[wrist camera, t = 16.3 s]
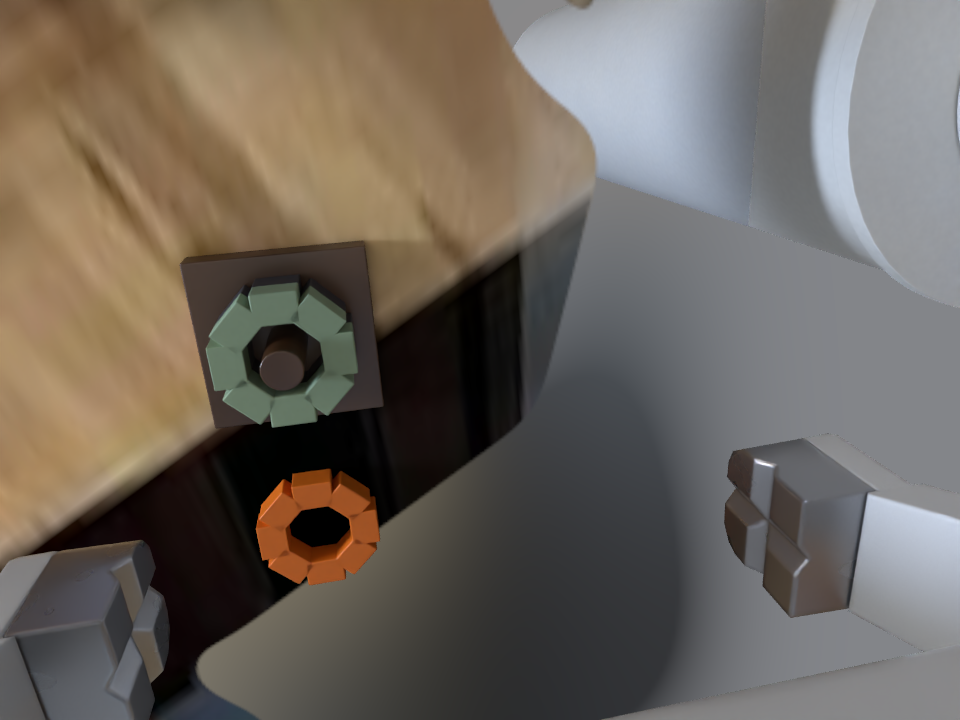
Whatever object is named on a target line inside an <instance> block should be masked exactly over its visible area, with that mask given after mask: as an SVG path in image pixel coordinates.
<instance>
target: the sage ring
mask: <svg viewBox="0 0 960 720" xmlns="http://www.w3.org/2000/svg"><path fill="white" fill-rule="evenodd" d="M293 323H294V324H295V325H297V326H298V327H300V328H301V329H302V330H304V331H305V332H307V333H308V334H309V335H311V336H312V337H314V338H315V339H317V340H318V341H319V342H320V345H321V352H322V358H323V363H322V364H321V366H320V367H319V368H318V369H317V370H316V372H315V373H314V374H313V375H312V376H311V378H310V379H309V380H308V381H307V382H304V383H299V384H298V385H297V386H296V387H294V388H292V389H290V390H284V391H280V390H275V389H273V388H271V387H269V386H268V385H266V384H265V383H264V381H263V380H262V378H261V376H260V375H259V374H258V373H256V372H255V371H253V370H252V369H251V364H250V359H249V353H248V348H247V345H248V343H249V342H250V341H251V340H252V338H253V337H254V336H255V335H256V333H257V332H258V331H259V330H260V329H261V327H266V326H275V325H284V324H293ZM209 338H211V339H210V341H209V343H208V345H207V347H206V353H207V358H208V362H209V367H210V371H211V376H212V381H213V385H214V390H215V391H221V390H226V392H225V395H224V397H223V401H224V402H225V403H227V404H228V405H230V406H231V407H233V408H235V409H236V410H238V411H239V412H241V413H243V414H244V415H246V416H247V417H249V418H250V419H252V420H254V421H255V422H257V423H258V424H262V423H263V421H264V420H265V419H266V418H267V417H268V415H269V414H270V418H271V423H272V427H280V426H287V425H295V424H302V423H310V422H316V421H317V416H318V410H319V411H321V412H322V413H324V414H325V415H329V414H330V413H331V411H332V410H333V409H334V408H335V407H336V406H337V404H338V403H339V402H340V401H341V400H342V398H343V397H344V396H345V395H346V394H347V393H348V391H349V390H350V389H351V388H352V387H353V385H354V374H355V373H358V363H357V355H356V347H355V340H354V332H353V325H352V322H348V323H346V312H345V311H344V310H343V309H341V308H340V307H339V306H337V305H336V304H335V303H333V302H332V301H330V300H329V299H328V298H326V297H325V296H324V295H322V294H321V293H320V292H318V291H317V290H316V289H314V288H313V287H312V286H309V287H308V288H307V289H306V291H305V292H304V293H303V294H302V296H301V297H300V291H299V285H298V283H286V284H276V285H267V286H257V287H252V288H251V291H250V293H249V295H248V297H246V296H245V295H243V294H242V293H240V294H239V295H238V297H237V298H236V299H235V300H234V302H233V303H232V304H231V305H230V307H229V308H228V309H227V310H226V312H225V313H224V314H223V315H222V317H221V318H220V319H219V320H218V322H217V323H216V324H215V326H214V327H213V329H212V331H211V333H210V335H209Z"/></svg>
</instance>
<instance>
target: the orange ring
mask: <svg viewBox="0 0 960 720" xmlns="http://www.w3.org/2000/svg"><path fill="white" fill-rule="evenodd" d="M326 506H329V507H331V508H332V509H334V510H336V511H337V512H339V513H341V514H342V515H344V516H345V517H347V518H349V521H350V529H349V530H348V531H347V533H346V534H345V535H344V536H343V537H342V538H341V539H340V541H339V542H338V543H337V544H331V545H325V546H318V547H310V546H308V545H307V544H305V543H303V542H301V541H300V540H298V539H296V538H294V537H293V536H291V531H290V526H289V524H290V523H291V522H292V521H293V520H294V518H295V517H296V516H297V515H298V514H299V513H300V512H301V510H306V509H313V508H320V507H326ZM256 531H257V536H258V541H259V545H260V550H261V555H262V560H267V559H270V560H269V568H271V569H273V570H274V571H276V572H278V573H280V574H282V575H283V576H285V577H287V578H289V579H291V580H293V581H294V582H296V583H298V584H300V583H301V581H302V580H303V579H304V578H305V577H306V576H307V578H308V583H309V585H315V584H321V583H326V582H332V581H339V580H344V579H346V570H347V571H349V572H351V573H353V574H355V573H356V572H357V571H358V570H359V569H360V568H361V566H362V565H363V564H364V563H365V562H366V561H367V560H368V559H369V558H370V557H371V555H372V554H373V553H374V552H375V551H376V550H377V545H376V542H378V541H380V534H379V524H378V517H377V509H376V502H375V496H372V497H370V490H369V488H367V487H366V486H364V485H362V484H361V483H359V482H358V481H356V480H354V479H353V478H351V477H350V476H348V475H347V474H345V473H343V472H342V471H340V472H339V473H338V474H337V475H336V476H335V478H334V479H332V473H331V469H324V470H317V471H310V472H303V473H296V474H293V477H292V483H290V482H289V481H287V480H285V479H283V480H282V481H281V483H280V484H279V485H278V486H277V487H276V488H275V490H274V491H273V492H272V493H271V494H270V496H269V497H268V498H267V499H266V500H265V501H264V503H263V504H262V505H261V511H260V513H259V516H258V521H257V527H256Z"/></svg>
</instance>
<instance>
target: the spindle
mask: <svg viewBox="0 0 960 720" xmlns="http://www.w3.org/2000/svg"><path fill="white" fill-rule="evenodd" d="M180 269H181V274H182V278H183V283H184V287H185V292H186V297H187V301H188V306H189V310H190V315H191V319H192V324H193V329H194V333H195V338H196V342H197V347H198V351H199V356H200V361H201V365H202V370H203V374H204V379H205V383H206V388H207V393H208V397H209V402H210V406H211V411H212V415H213V420H214V424H215V428H224V427H231V426H239V425H247V424H254V423H257V422H255V421H254V420H252V419H250V418H249V417H247V416H246V415H244V414H243V413H241V412H239V411H238V410H236V409H235V408H233V407H231V406H230V405H228V404H227V403H225V402H224V401H223V397H224V395H225V392H226V390H221V391H215V390H214V385H213V381H212V376H211V371H210V367H209V362H208V358H207V353H206V347H207V345H208V343H209V341H210V339H211V338H209V335H210V333H211V331H212V329H213V327H214V326H215V323H216V321H217V320H218V318H219V316H220V315H221V313H222V312H223V311H224V310H225V308H226V307H227V306H228V305H229V303H230V302H231V301H232V300H233V298H234V297H235V296H236V294H237V293H238V292H239V291H240V289H241V288H242V287H243V286H244V285H246V286H248V287H249V288H252V285H253V283H254V280H255V279H257V278H267V277H277V276H287V275H297V274H299V275H300V279H301V286H302V288H303V287H304V285H305V284H306V283H307V282H308V280H309V279H310V278H312V279H314V280H315V281H316V282H318V283H319V284H320V285H322V286H323V287H324V288H326V289H327V290H329V291H330V292H331V293H333V294H334V295H335V296H337V297H338V298H339V299H341V300H342V301H343V302H345V306H346V313H351V314H352V320H353V328H354V335H355V343H356V351H357V363H358V373H355V374H354V385H353V387H352V388H351V389H350V390H349V391H348V393H347V394H346V395H345V396H344V397H343V398H342V400H341V401H340V402H339V403H338V404H337V406H336V407H335V408H334V409H333V410H332V411H331V413H337V412H345V411H352V410H360V409H367V408H375V407H382V406H384V400H383V392H382V384H381V375H380V367H379V359H378V350H377V342H376V334H375V325H374V317H373V309H372V300H371V292H370V284H369V275H368V267H367V259H366V250H365V244H364V241H352V242H342V243H332V244H321V245H311V246H300V247H290V248H279V249H269V250H259V251H248V252H238V253H227V254H217V255H206V256H196V257H186V258H185V259H184V260H183V261H182V262H181V263H180ZM252 345H253V351H254V356H255V358H256V359H257V360H259V361H260V362H261V364H260V376H261V378H262V380H263V381H264V383H265V384H266V385H268V386H269V387H271V388H273V389H275V390H280V391H284V390H290V389H292V388H294V387H296V386H297V385H298V384H299V383H300V382H301V381H302V379H303V377H304V371H308V370H309V369H310V367H311V366H312V365H313V364H314V363H315V361H316V360H317V359H318V358H319V357H320V355H321V354H322V352H321V345H320V342H319V341H318V340H317V339H315V338H314V337H312V336H311V335H309V334H308V333H307V332H305V331H304V330H302V329H301V328H300V327H298V326H297V325H295V324H294V323H293V324H284V325H275V326H266V327H261V329H260V330H259V331H258V332H257V333H256V335H255V336H254V337H253V338H252ZM322 414H324V413H322V412H321V411H319V410H318V415H322ZM269 421H271V418H270V414H269V415H268V417H267V418H266V419H265V420H264V421H263V422H269Z"/></svg>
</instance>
